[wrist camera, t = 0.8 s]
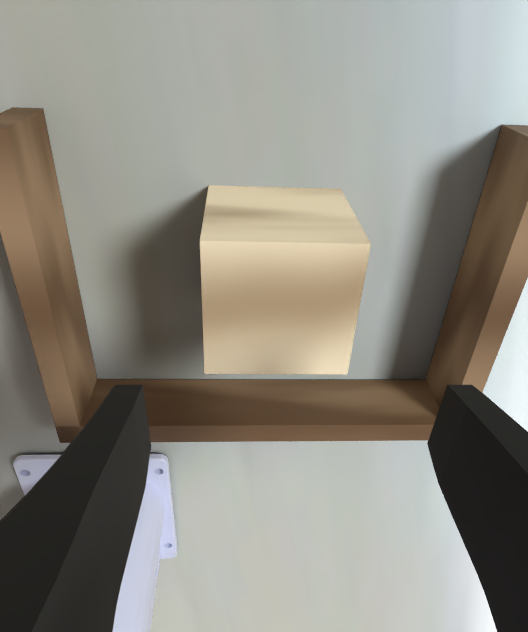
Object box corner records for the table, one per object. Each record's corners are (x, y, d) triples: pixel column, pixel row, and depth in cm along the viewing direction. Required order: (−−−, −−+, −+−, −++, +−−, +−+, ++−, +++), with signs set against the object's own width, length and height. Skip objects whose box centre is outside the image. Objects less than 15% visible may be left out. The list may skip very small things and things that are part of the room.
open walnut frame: (440, 394, 24) (463, 440, 22) (79, 395, 23) (60, 442, 21) (528, 125, 17) (578, 146, 15) (12, 107, 16) (-30, 127, 13)
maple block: (325, 299, 21) (347, 374, 17) (211, 298, 21) (204, 373, 16) (340, 188, 18) (370, 243, 14) (208, 184, 18) (199, 240, 14)
